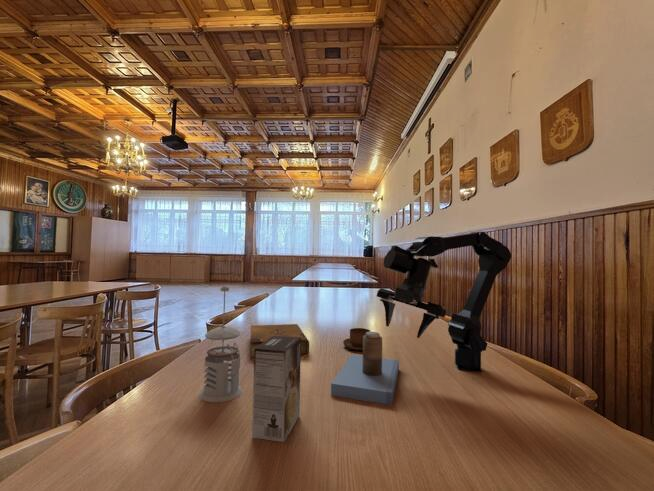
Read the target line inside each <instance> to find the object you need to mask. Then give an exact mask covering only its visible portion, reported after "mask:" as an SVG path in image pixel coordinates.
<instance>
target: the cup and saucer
mask: <svg viewBox="0 0 654 491" xmlns="http://www.w3.org/2000/svg"><path fill="white" fill-rule="evenodd" d="M366 332H371V330H370V329H367V328H361V327H353V328H351V329H349V338H345V339H344V340H343V341H342V343H343V345H344V346H345V348H348V349H350V350H354V351H363V336H365V335H366Z"/></svg>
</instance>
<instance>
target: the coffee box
mask: <svg viewBox="0 0 654 491" xmlns="http://www.w3.org/2000/svg"><path fill="white" fill-rule="evenodd" d="M301 357H302V356H301V337H286V336H272V337H270V338H269V339H267V340H266V341H265V342H263V343H262V344H260V345H259V346H257V347H256V348H254V359H253V385H252V386H253V388H252V390H253V392H252V393H253V395H252V399H253V400H252V431H251V436H252V438H253V439H259V440H267V441H274V442H278V443H279V442H280V443H284V442H285V441H286V440H287V438H288V437H289V435H290V433H291V431H292V429H293V428H294V426H295V425H296V422H297V421H298V419H299V417H300V405H301V404H300V403H301V402H300V401H301V400H300V398H301V394H300V392H301V391H300V390H301Z"/></svg>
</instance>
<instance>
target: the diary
mask: <svg viewBox="0 0 654 491" xmlns="http://www.w3.org/2000/svg"><path fill="white" fill-rule="evenodd" d="M272 336H286V337H301V357H308V355H309V354H310V341H309V339H308V338H307V336H306V335H305V333H304V332H303V330H302V328H300V326H299V325H298V323H291V324H289V323H288V324H285V323H284V324H258V325H257V324H256V325H255V324H254V325H250V345H249V346H250V349H249V352H250V353H249V354H250V355H249V359H250V360H254V348H256V347H257V346H259V345H260V344H262V343H263V342H265V341H266V340H267V339H269V338H270V337H272Z"/></svg>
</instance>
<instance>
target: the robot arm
mask: <svg viewBox="0 0 654 491" xmlns="http://www.w3.org/2000/svg"><path fill="white" fill-rule="evenodd" d="M465 247H472V250H473V252H474V253H475V254H476V255H477V256H478V259H477V262H478V267H479V268H478V269H479V270H478V272H477V274H476V277H475V280H474V282H473V285H472V287H471V288H470V291H469V294H468V297H467V299H466V302H465V304H464V306H463V309H462V311H460V312H459V313H455V312H453V313H452V315H451V318H450V320H449V322H447V326H448V328H447V331H448V335H449V336H450V338H451V341H452V343H453V344H455V345H456V348H455V349H454V364H455V366H456V367H457V369H458V370H461V371H468V372H475V373H483V369H482V352H484V351H486V350H487V347H488V342H487V340H485V339H484V337H482V336H481V331H482V324H481V318H480V317H481V315H482V312H483V310H484V307H485V305H486V303H487V300H488V297H489V296H490V294H491V293H490V292H491V290H492V288H493V285H494V283H495V280H496V277H497V276H498V275H499V274H500V273H501V272H503V271H504V270H505V269H506V268H507V267H508V265H509V263H510V261H511V258H512V253H511V251H510V248H508V247H507V246H506V245H504V244H503V243H502V242H501V241H499V240H497V239H495V238H493V237H491V236H490V235H489V234H487V233H486V232H484V231H471V232H470V233H465V234H458V235H457V234H456V235H451V236H445V237H443V236H433V235H432V236H431V235H430V236H421V237H420V236H419V237H416V238H415V239H414V240H413V242H412V244H411V245H410V246H409V247H408V248H407V247H406V249H404V248H401V247H400V246H398V245H391V248H390V249H389V250H388V251H387V253H386V255H385V256H384V258H383V267H384V268H386V269H388V270H390V271H391V270H392V271H393V272H395V273H399V274H401V275H405V274H406V278H404V279H403V282H402V283H400V284H399V285H396V286H395V290H394V291H392V290H389V289H385V288H382V287H381V288H379V289H378V291H377V293H376V297H378V298H380V299H379V301H380V302H382V304H383V307H384V312H385V313H384V314H385V326H386V327H388V328H389V327H390V324H391V321H392V317H393V314H394V310H395V307H396V303H394V301H395V302H398V303H402V304H405V305H407V306H411V307H414V308H418V309H421V310H424V311H426V313H425V312H423V314H422V320H421V323H420V325H419V329H418V332H417V335H416V338H417V339H420V338H421V336H422V335H423V334H424V333H425V330H427V328H428V327H429V326H430V325H431V324H432V323H433V322H434V320H440V317H442V318H446V314H447V309H446V307H445V306H443V305H441V304H437V303H433V302H429V301H427V302H428V303H425V302H423V301H424V299H423V297H424V294H425V291H426V289H427V283H428V279H429V275H430V272H431V269H433V268H434V269H438V268H439V265H438V264H437V263H436V261H435V258H432V257H435V256H438V255H441V254H443V253H444V252H446V251H448V250H453V249H458V248H459V249H460V248H465ZM415 257H418V258H415ZM425 257H431V258H428V259H427V258H425ZM414 301H415V302H414Z"/></svg>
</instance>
